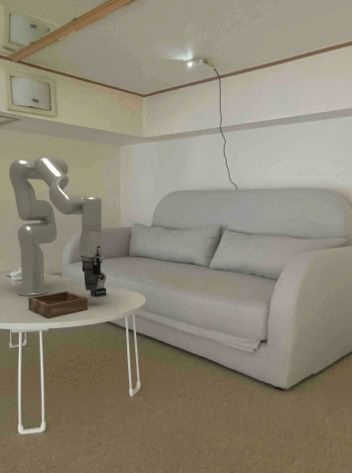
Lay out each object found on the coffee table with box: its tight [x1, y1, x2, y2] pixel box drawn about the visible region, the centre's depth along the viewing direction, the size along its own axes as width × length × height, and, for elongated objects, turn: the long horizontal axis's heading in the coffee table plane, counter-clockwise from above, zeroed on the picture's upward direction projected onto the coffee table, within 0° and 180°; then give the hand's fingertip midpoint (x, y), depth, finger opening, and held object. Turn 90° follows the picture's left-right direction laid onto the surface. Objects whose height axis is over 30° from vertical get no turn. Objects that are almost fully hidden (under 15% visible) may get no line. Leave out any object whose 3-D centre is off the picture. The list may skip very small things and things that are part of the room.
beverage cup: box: [81, 255, 99, 291], centre depth 148 cm, size 7×7×20 cm
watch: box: [90, 270, 107, 298], centre depth 166 cm, size 6×8×11 cm
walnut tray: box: [28, 290, 89, 319], centre depth 143 cm, size 16×16×4 cm
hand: (91, 272), depth 149 cm, fingers closed on beverage cup, 7 cm apart
